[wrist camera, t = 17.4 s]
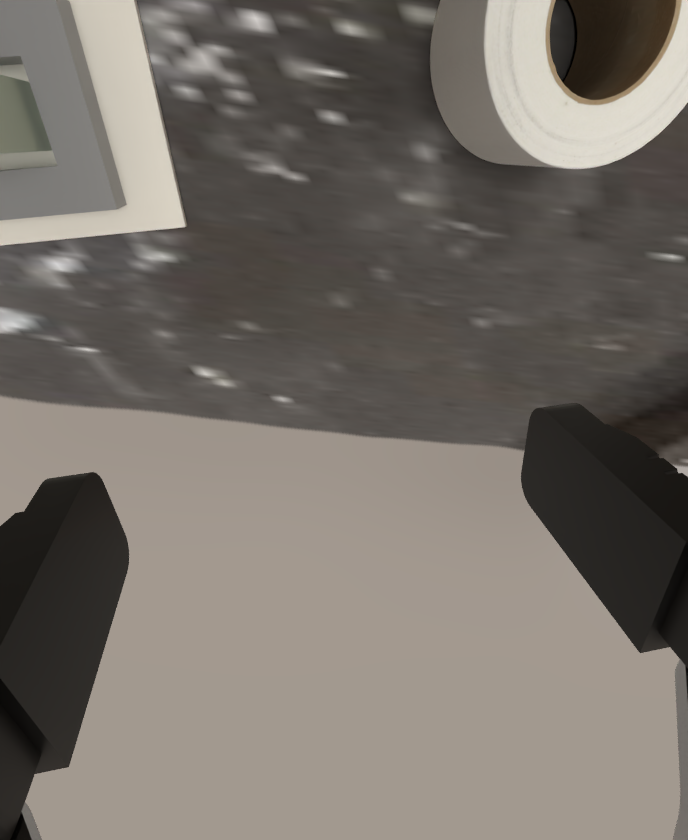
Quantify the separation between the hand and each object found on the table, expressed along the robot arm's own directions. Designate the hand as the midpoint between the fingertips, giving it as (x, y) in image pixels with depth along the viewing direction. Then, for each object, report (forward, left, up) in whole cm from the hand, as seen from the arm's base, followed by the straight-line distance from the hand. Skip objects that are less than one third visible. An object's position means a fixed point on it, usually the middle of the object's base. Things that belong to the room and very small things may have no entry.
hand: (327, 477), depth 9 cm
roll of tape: (-21, -10, -36) cm, 43 cm away
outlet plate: (+17, -8, -36) cm, 41 cm away
